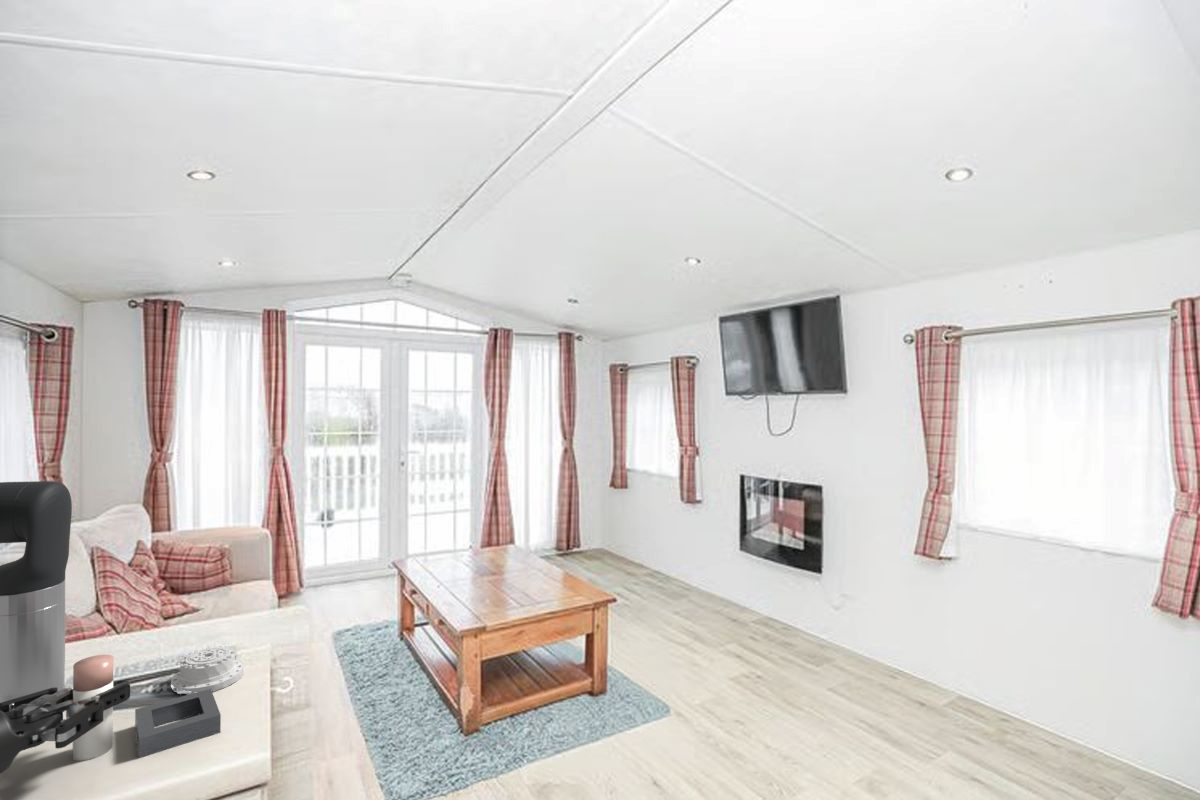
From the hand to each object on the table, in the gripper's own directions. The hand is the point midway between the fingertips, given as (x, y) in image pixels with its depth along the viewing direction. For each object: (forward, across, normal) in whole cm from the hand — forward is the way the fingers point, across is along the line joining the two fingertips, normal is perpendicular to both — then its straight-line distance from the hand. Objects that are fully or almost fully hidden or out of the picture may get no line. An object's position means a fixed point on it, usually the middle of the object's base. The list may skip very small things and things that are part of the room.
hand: (116, 687), depth 80 cm
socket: (+5, -6, +7) cm, 10 cm away
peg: (-3, 0, +7) cm, 8 cm away
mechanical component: (+16, +4, +8) cm, 18 cm away
